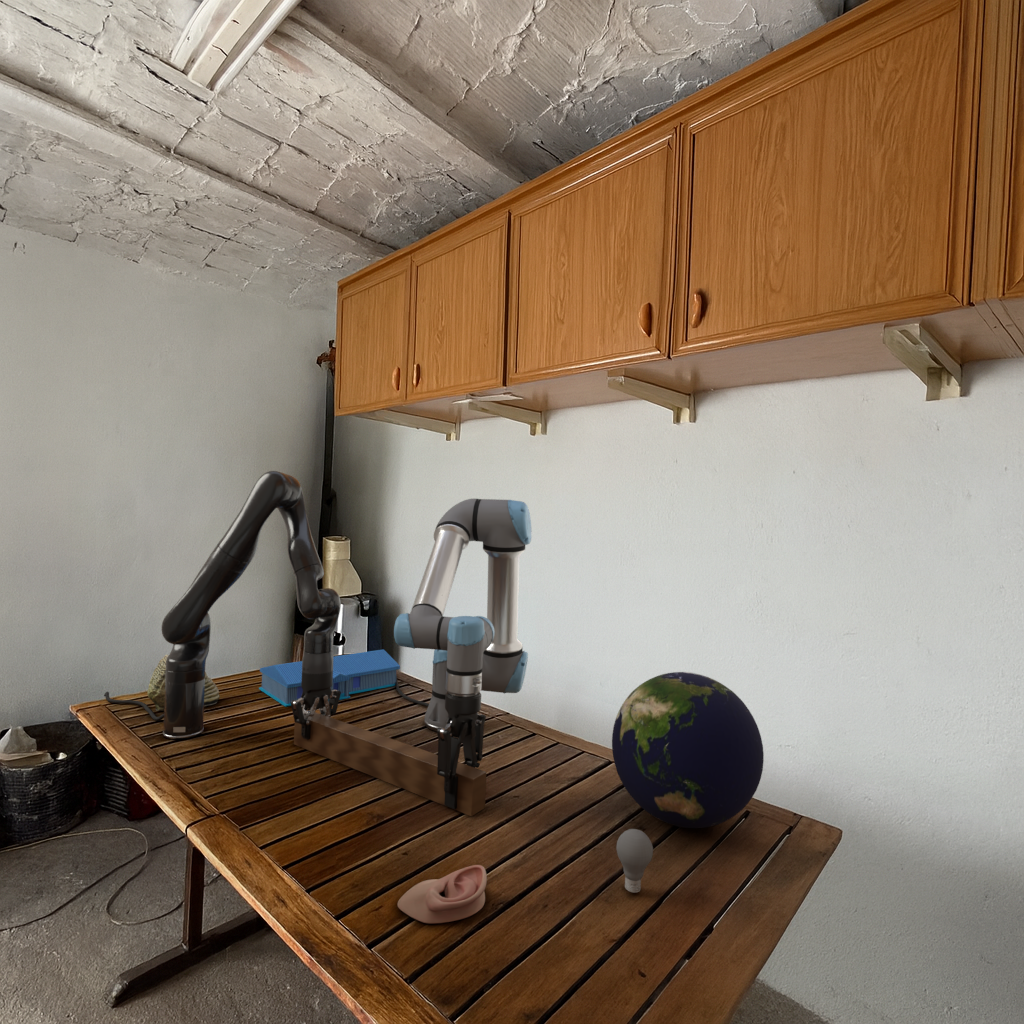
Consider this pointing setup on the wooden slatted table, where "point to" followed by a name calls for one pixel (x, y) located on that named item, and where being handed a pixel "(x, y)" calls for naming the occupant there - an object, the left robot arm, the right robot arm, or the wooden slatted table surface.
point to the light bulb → (634, 857)
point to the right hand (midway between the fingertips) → (458, 801)
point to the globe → (687, 750)
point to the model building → (347, 676)
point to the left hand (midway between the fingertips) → (315, 735)
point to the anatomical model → (446, 896)
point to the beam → (392, 762)
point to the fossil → (158, 687)
